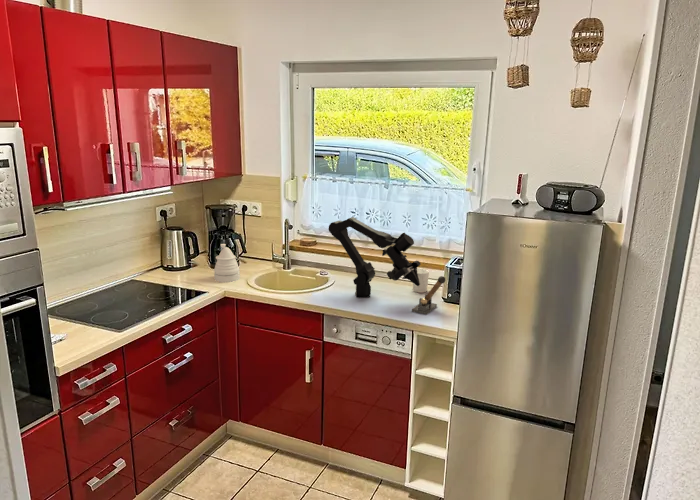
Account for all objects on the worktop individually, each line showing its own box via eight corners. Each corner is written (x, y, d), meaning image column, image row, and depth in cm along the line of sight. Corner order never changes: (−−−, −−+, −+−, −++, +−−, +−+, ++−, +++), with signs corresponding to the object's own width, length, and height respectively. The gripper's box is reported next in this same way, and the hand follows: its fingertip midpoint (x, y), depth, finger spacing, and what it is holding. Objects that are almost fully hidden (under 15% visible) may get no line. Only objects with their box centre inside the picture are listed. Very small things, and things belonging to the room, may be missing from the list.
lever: (420, 301, 232) (439, 275, 225) (423, 298, 235) (442, 273, 228) (425, 306, 231) (445, 280, 224) (428, 303, 235) (448, 278, 227)
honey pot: (209, 279, 269) (207, 245, 265) (227, 273, 280) (225, 241, 276) (227, 283, 263) (225, 249, 259) (245, 277, 273) (244, 244, 269)
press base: (411, 311, 228) (412, 298, 227) (422, 303, 239) (423, 290, 237) (426, 314, 225) (427, 300, 223) (437, 306, 235) (437, 293, 234)
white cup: (427, 293, 253) (428, 273, 250) (411, 292, 254) (411, 272, 252) (428, 288, 260) (429, 269, 258) (412, 287, 262) (413, 268, 259)
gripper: (394, 263, 247) (414, 289, 245) (376, 272, 232) (397, 300, 229) (410, 249, 242) (431, 276, 239) (393, 258, 226) (415, 287, 223)
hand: (418, 285), depth 233 cm, fingers closed
